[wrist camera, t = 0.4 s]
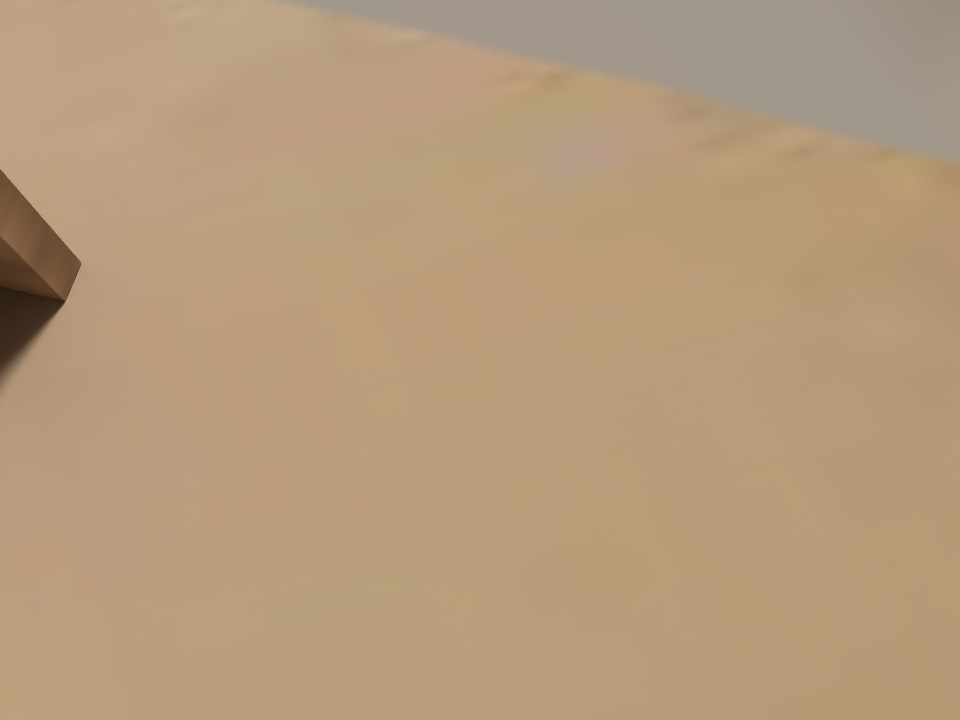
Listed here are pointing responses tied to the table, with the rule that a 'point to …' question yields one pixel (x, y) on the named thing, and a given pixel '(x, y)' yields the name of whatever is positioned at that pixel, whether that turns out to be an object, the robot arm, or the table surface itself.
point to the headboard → (31, 249)
